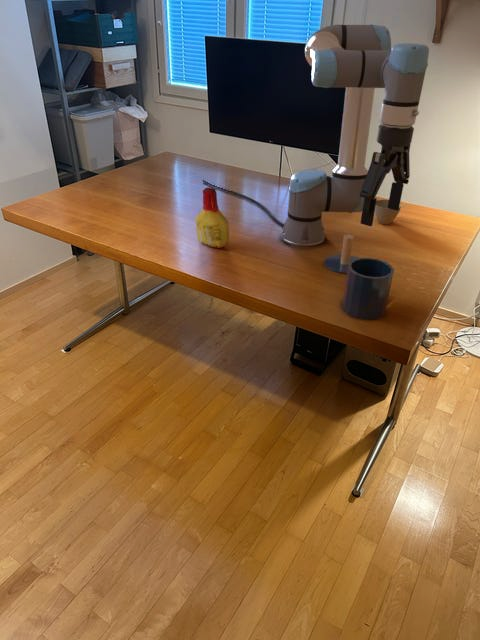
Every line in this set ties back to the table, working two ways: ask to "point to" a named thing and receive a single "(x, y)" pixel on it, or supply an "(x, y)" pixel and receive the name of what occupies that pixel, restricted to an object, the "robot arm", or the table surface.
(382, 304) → the dark blue cylinder
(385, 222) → the flower pot
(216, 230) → the bottle
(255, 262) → the table surface
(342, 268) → the lid
